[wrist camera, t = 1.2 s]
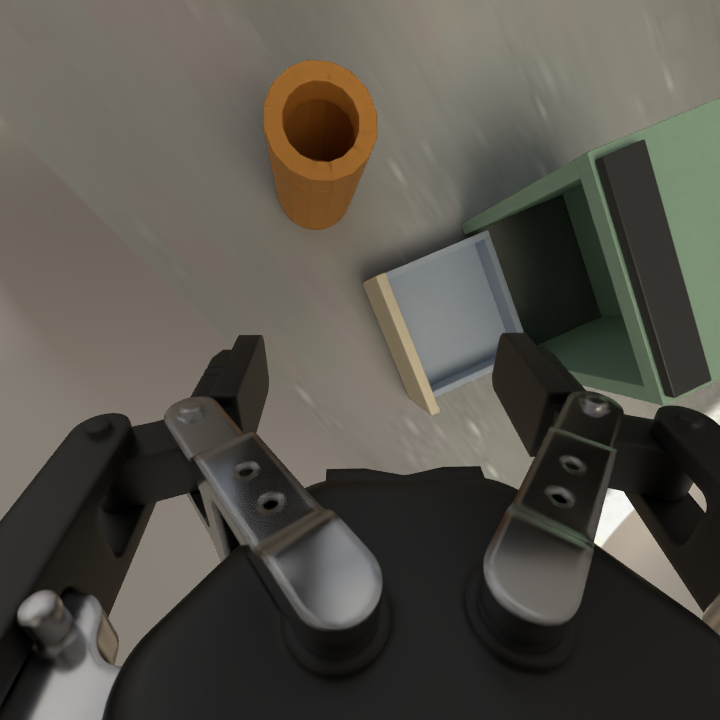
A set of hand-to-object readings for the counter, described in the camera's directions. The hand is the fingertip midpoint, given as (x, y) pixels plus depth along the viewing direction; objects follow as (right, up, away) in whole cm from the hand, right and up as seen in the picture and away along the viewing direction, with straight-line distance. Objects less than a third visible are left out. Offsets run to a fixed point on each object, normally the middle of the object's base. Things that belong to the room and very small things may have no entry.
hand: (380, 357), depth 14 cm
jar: (-5, +14, +20) cm, 25 cm away
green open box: (+16, +8, +24) cm, 30 cm away
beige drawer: (+7, +4, +23) cm, 24 cm away
